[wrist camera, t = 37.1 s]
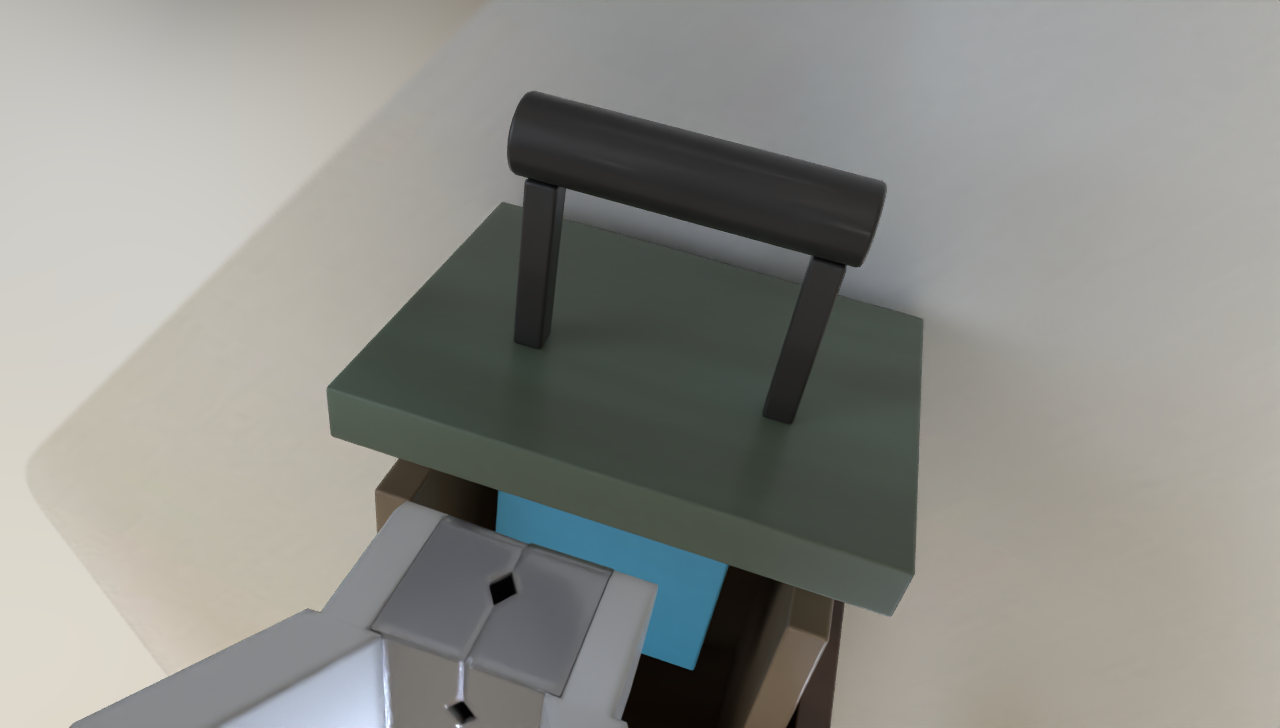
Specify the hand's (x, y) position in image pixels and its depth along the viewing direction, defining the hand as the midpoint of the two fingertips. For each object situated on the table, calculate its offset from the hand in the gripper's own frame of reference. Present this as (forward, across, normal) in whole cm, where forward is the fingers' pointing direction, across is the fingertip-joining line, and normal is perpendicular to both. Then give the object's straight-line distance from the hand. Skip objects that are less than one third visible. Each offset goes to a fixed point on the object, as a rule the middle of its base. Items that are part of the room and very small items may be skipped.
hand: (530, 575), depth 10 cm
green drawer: (+12, 0, +7) cm, 14 cm away
